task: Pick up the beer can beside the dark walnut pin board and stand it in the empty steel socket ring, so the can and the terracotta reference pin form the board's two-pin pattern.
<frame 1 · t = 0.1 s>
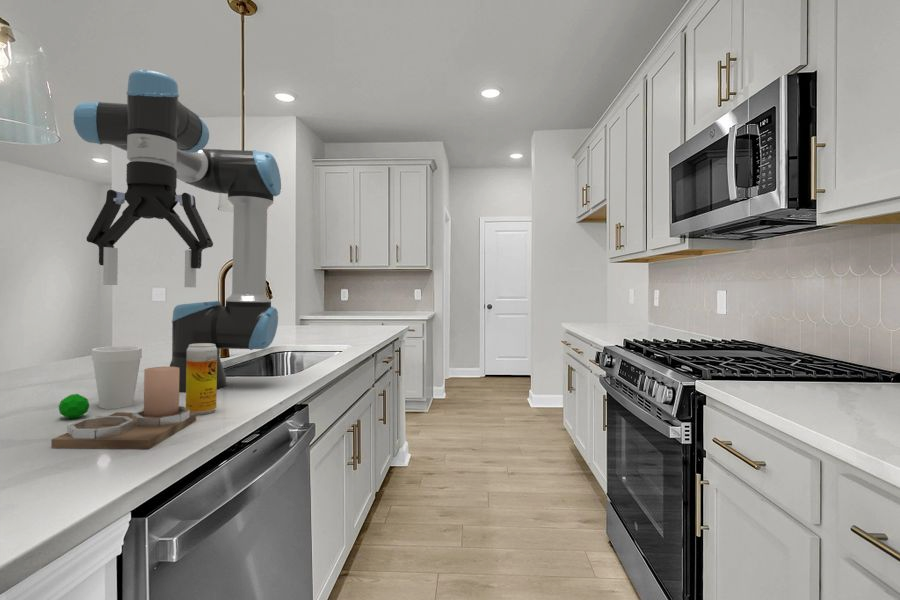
hand: (150, 286, 87), 28 cm above the counter, fingers open, 13 cm apart
polyhedron: (74, 418, 102), on the counter
foam cup: (116, 405, 114), on the counter
beer can: (201, 412, 110), on the counter
pin board: (131, 432, 94), on the counter
socket collars: (132, 420, 94), on the pin board, point 2 cm above the counter
reference pin: (161, 394, 98), in the socket collars, point 6 cm above the counter
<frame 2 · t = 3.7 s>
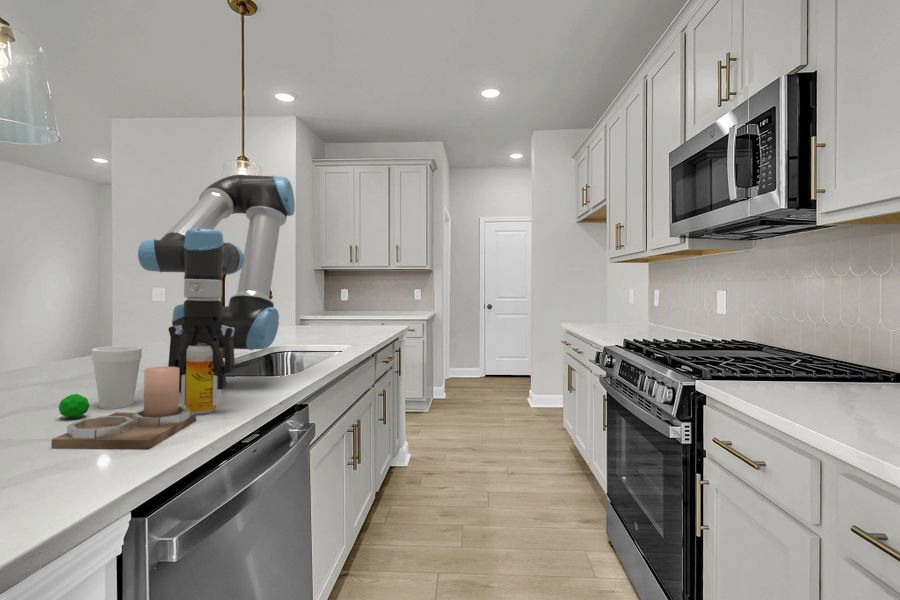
hand: (201, 403, 110), 2 cm above the counter, fingers closed on beer can, 6 cm apart
beer can: (201, 412, 110), on the counter, touching gripper
everything else where it was.
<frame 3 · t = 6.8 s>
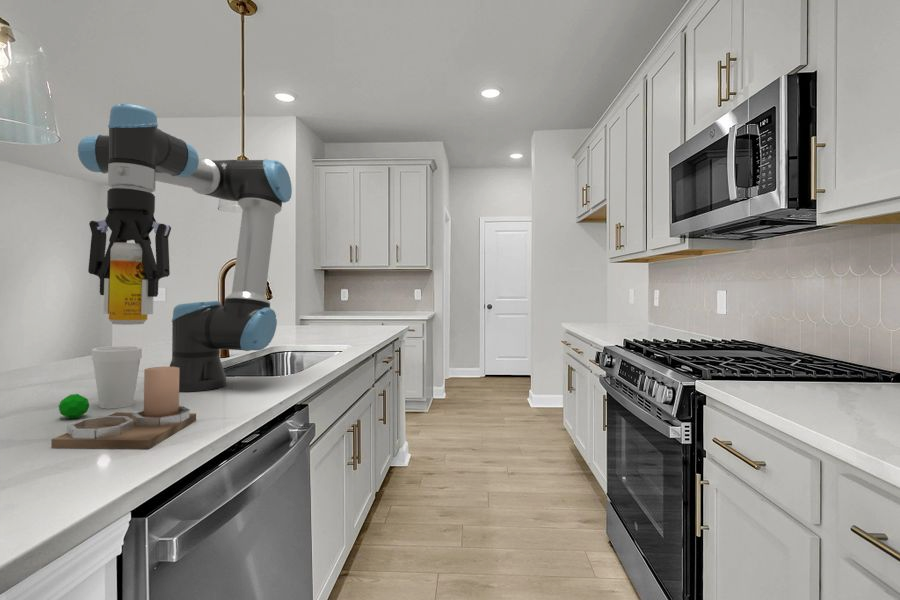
hand: (128, 313, 93), 23 cm above the counter, fingers closed on beer can, 6 cm apart
beer can: (128, 324, 93), point 20 cm above the counter, touching gripper
everything else where it was.
when the fingers open (5 cm above the counter, at t = 9.8 s): beer can drops 1 cm, resting on pin board.
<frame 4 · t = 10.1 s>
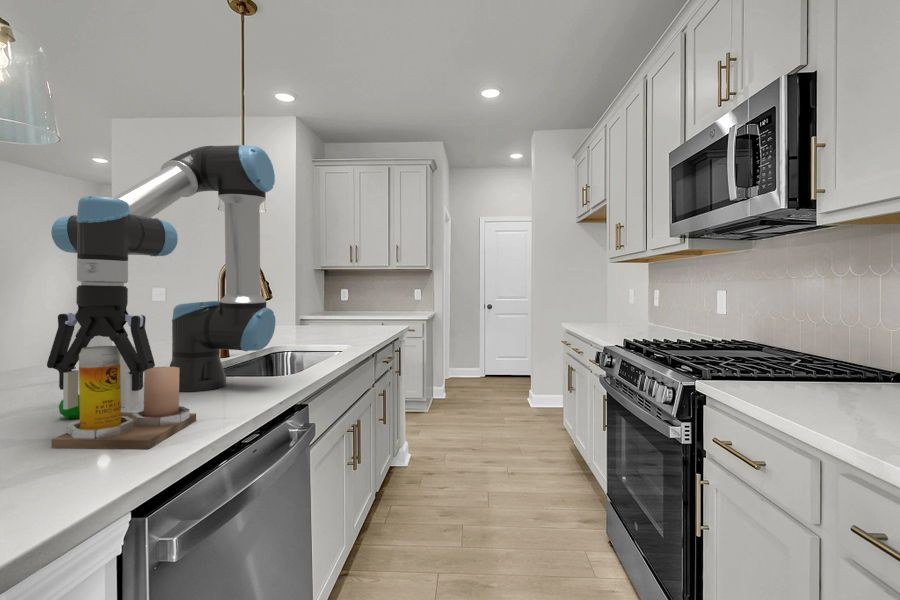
hand: (101, 408, 89), 6 cm above the counter, fingers open, 10 cm apart
beer can: (100, 431, 89), point 1 cm above the counter, touching pin board
everything else where it was.
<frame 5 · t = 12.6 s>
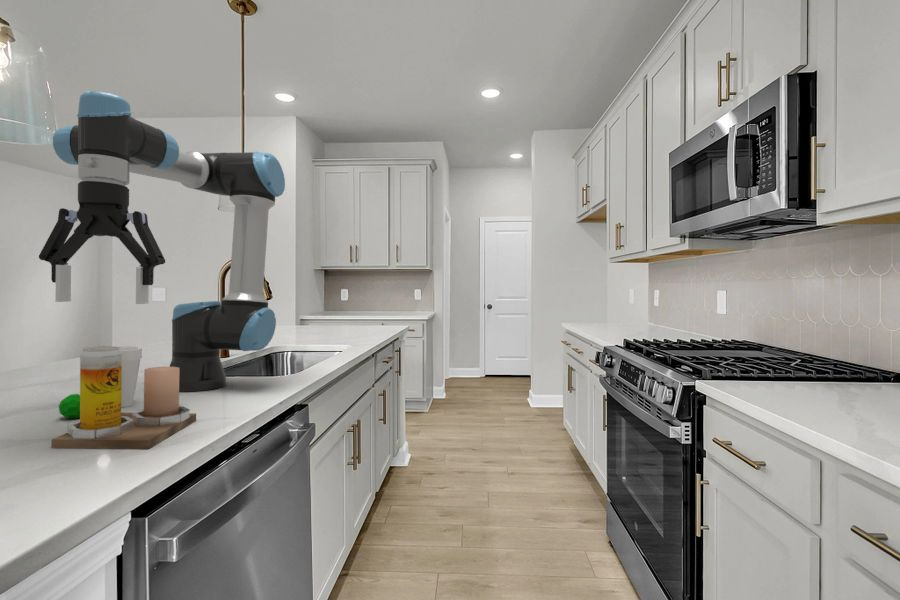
hand: (102, 302, 89), 25 cm above the counter, fingers open, 13 cm apart
nothing on the counter moved.
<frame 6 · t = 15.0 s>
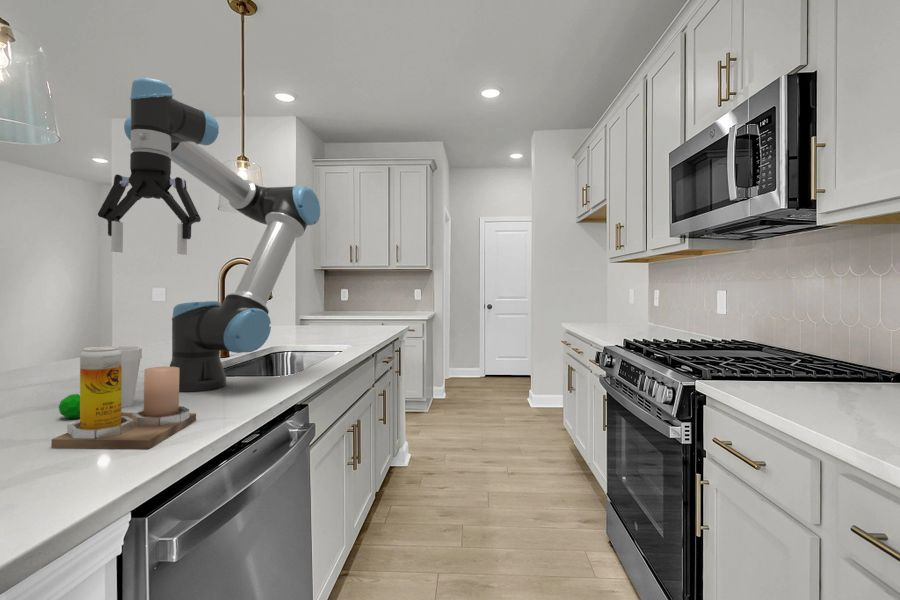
hand: (149, 253, 107), 35 cm above the counter, fingers open, 13 cm apart
nothing on the counter moved.
at the end: beer can 0.0 cm from the target spot on the pin board, point 1.3 cm above the pin board's base; beer can tilted 0°; the gripper is holding nothing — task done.
